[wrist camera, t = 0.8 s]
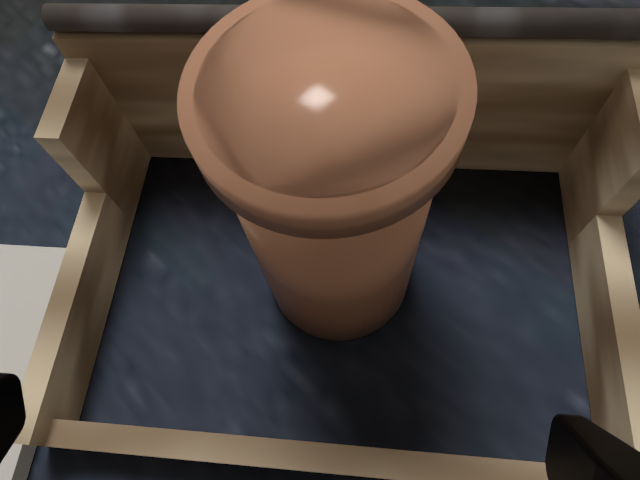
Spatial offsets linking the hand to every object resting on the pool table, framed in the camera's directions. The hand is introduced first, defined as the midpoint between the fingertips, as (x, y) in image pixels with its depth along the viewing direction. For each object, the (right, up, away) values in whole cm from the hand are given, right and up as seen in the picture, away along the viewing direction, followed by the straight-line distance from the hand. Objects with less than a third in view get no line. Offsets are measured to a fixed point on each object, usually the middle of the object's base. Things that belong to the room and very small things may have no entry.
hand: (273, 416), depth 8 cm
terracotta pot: (+2, +1, +15) cm, 15 cm away
